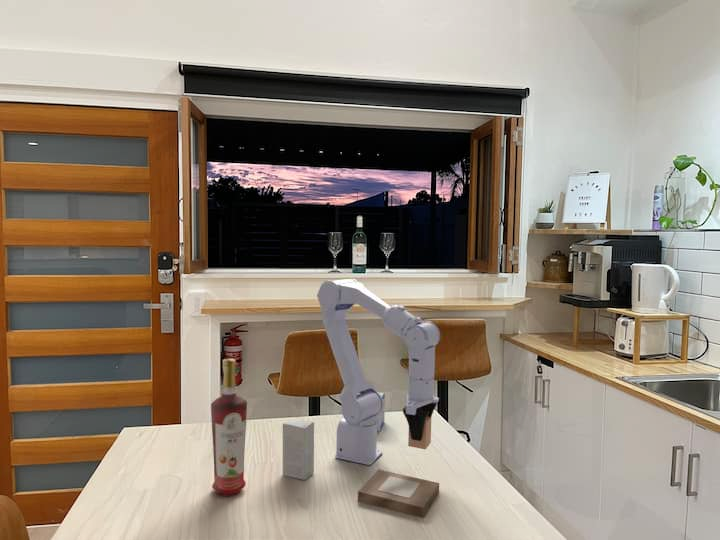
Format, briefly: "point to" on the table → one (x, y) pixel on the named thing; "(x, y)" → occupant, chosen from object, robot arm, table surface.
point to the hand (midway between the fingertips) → (419, 436)
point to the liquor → (229, 435)
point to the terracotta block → (425, 438)
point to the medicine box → (381, 414)
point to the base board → (399, 492)
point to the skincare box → (298, 448)
